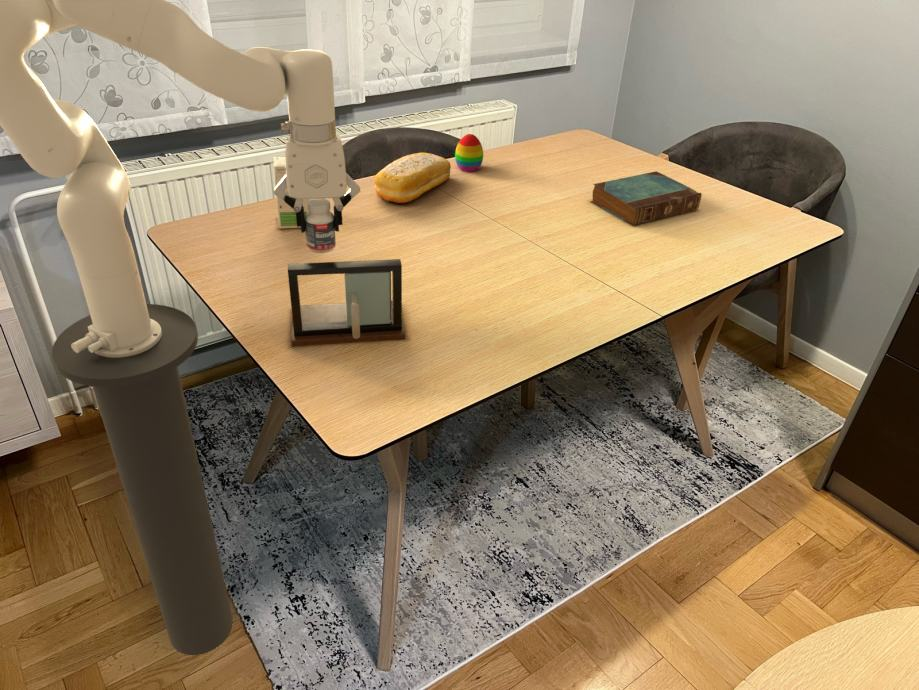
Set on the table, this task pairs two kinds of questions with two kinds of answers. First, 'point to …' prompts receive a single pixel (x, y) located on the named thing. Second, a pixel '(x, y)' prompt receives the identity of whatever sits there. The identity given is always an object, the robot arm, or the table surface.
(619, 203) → the book
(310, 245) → the pill bottle
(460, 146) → the decorative egg
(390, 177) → the bread
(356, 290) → the pane
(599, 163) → the table surface
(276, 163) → the cosmetic box
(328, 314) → the window frame
